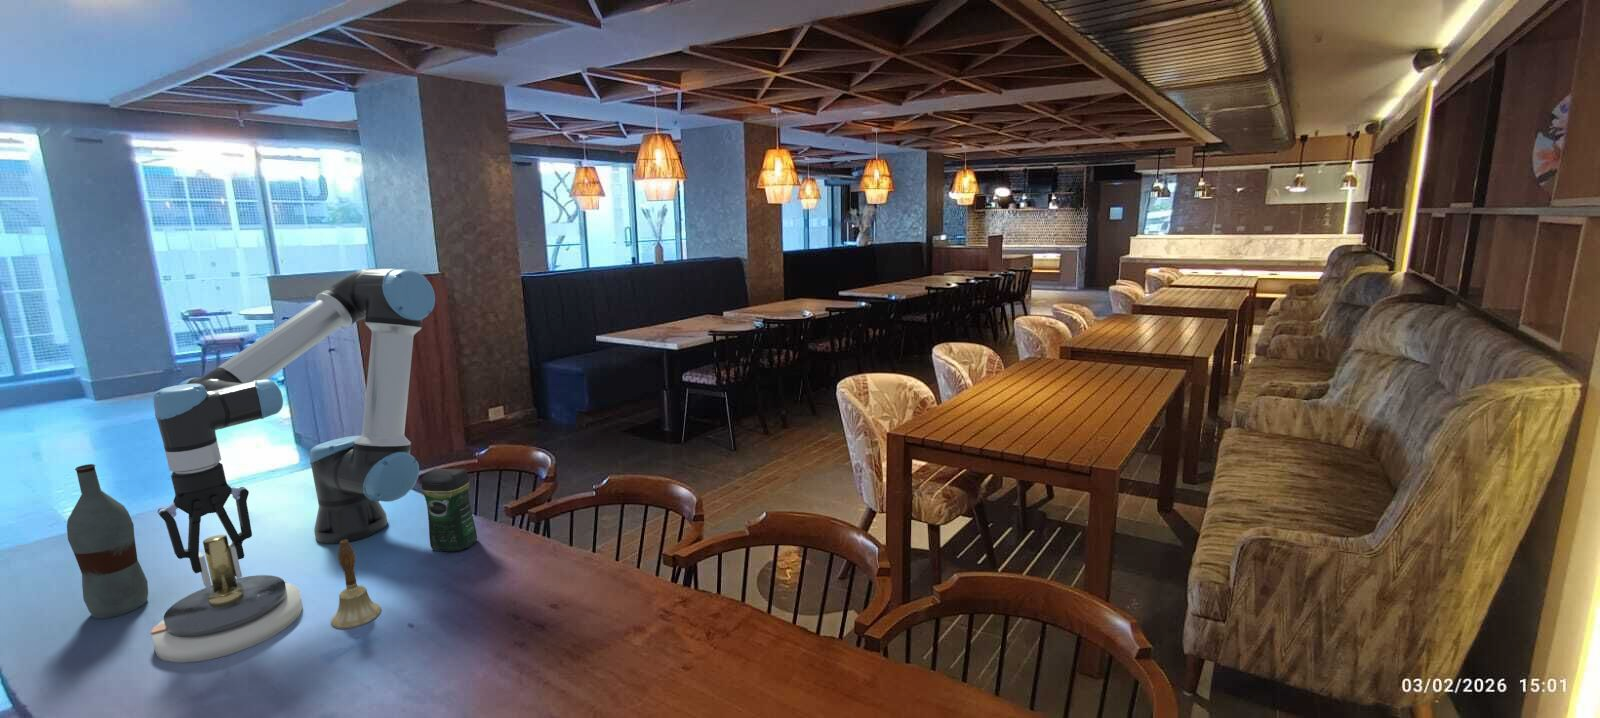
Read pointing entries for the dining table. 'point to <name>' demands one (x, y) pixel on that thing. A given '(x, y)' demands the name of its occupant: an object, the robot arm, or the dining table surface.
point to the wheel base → (227, 634)
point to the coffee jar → (449, 509)
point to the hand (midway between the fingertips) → (223, 580)
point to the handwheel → (224, 597)
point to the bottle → (105, 550)
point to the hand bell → (352, 595)
